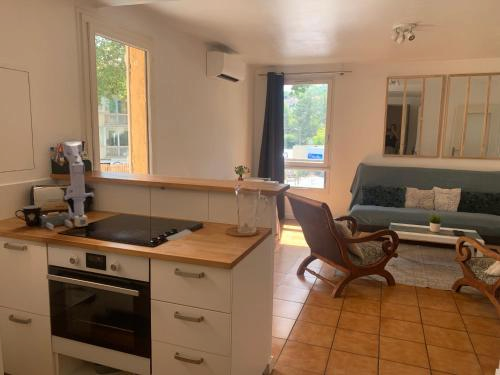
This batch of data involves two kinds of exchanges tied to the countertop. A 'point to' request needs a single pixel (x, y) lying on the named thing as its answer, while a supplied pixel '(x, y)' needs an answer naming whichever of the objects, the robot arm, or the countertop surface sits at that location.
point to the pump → (81, 220)
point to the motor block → (53, 219)
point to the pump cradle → (53, 226)
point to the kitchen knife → (185, 232)
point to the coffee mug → (31, 215)
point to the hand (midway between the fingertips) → (80, 211)
